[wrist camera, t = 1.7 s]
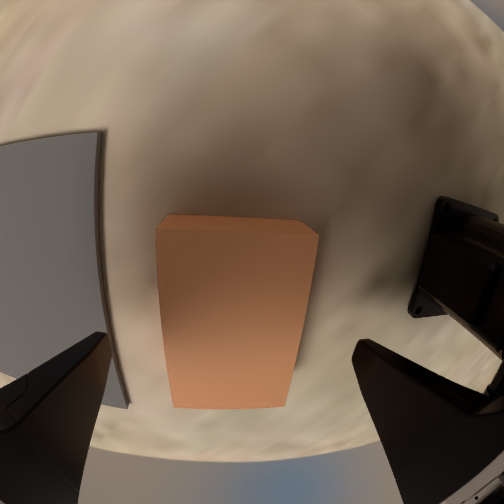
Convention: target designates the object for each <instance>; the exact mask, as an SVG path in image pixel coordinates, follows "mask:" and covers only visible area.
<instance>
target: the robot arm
mask: <svg viewBox="0 0 504 504" xmlns="http://www.w3.org/2000/svg"><path fill="white" fill-rule="evenodd" d="M444 205H445V208H444ZM408 313H409V314H410V315H411V316H412V317H413V318H422V317H431V316H439V315H446V314H449V315H450V316H451V317H452V318H453V319H455V320H456V321H457V322H458V323H460V324H461V325H462V326H463V327H464V328H466V329H467V330H468V331H469V332H470V333H472V334H473V335H474V336H475V337H476V338H477V339H478V340H480V341H481V342H482V343H483V344H484V345H485V346H486V347H488V348H489V349H490V350H491V351H492V352H493V353H494V354H495V355H497V356H498V357H499V358H500V359H501V360H502V363H501V365H500V367H499V369H498V371H497V372H496V374H495V376H494V378H493V380H492V382H491V384H489V385H488V386H487V388H486V390H485V391H484V393H483V394H482V393H479V392H477V391H474V390H472V389H469V388H467V387H464V386H462V385H460V384H457V383H455V382H453V381H451V380H449V379H446V378H444V377H442V376H440V375H438V374H436V373H434V372H432V371H430V370H428V369H426V368H424V367H422V366H421V365H419V364H417V363H415V362H413V361H411V360H409V359H407V358H405V357H403V356H401V355H399V354H397V353H395V352H393V351H391V350H389V349H388V348H386V347H384V346H382V345H380V344H378V343H376V342H374V341H372V340H370V339H360V340H359V341H358V342H357V344H356V347H355V350H354V352H353V355H352V364H353V367H354V370H355V374H356V377H357V380H358V384H359V387H360V390H361V393H362V396H363V398H364V401H365V403H366V405H367V408H368V410H369V413H370V415H371V418H372V420H373V423H374V425H375V427H376V430H377V432H378V435H379V438H380V440H381V442H382V445H383V448H384V450H385V453H386V456H387V458H388V461H389V464H390V466H391V469H392V472H393V474H394V477H395V479H396V483H397V486H398V489H399V491H400V495H401V497H402V500H403V503H404V504H441V503H442V502H444V501H445V502H446V503H447V504H504V224H501V223H499V218H498V215H496V214H494V213H491V212H489V211H486V210H483V209H481V208H478V207H475V206H472V205H470V204H467V203H464V202H461V201H458V200H455V199H452V198H449V197H445V196H441V197H439V198H438V200H437V202H436V205H435V211H434V216H433V221H432V226H431V230H430V235H429V239H428V243H427V247H426V251H425V255H424V259H423V262H422V266H421V270H420V273H419V276H418V280H417V283H416V286H415V289H414V292H413V295H412V298H411V301H410V304H409V307H408ZM111 359H112V350H111V345H110V341H109V336H108V334H107V333H106V332H99V331H96V332H94V333H93V334H91V335H89V336H88V337H86V338H84V339H83V340H81V341H79V342H78V343H76V344H74V345H73V346H71V347H69V348H68V349H66V350H64V351H63V352H61V353H59V354H58V355H56V356H54V357H53V358H51V359H49V360H48V361H46V362H44V363H43V364H41V365H40V366H38V367H36V368H35V369H33V370H31V371H30V372H28V374H25V375H23V376H21V377H20V378H18V379H16V380H15V381H13V382H11V383H10V384H8V385H6V386H4V387H2V388H0V504H77V503H78V497H79V491H80V485H81V480H82V475H83V470H84V466H85V461H86V457H87V453H88V449H89V445H90V441H91V437H92V433H93V430H94V426H95V423H96V419H97V416H98V412H99V409H100V406H101V402H102V399H103V396H104V392H105V388H106V382H107V377H108V373H109V368H110V363H111Z"/></svg>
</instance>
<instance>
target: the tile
mask: <svg viewBox="0 0 504 504" xmlns="http://www.w3.org/2000/svg"><path fill="white" fill-rule="evenodd" d="M318 241H319V235H318V234H317V233H315V232H314V231H313V230H312V229H310V228H309V227H308V226H306V225H305V224H304V223H302V222H301V221H298V220H283V219H266V218H248V217H227V216H203V215H169V214H168V215H167V216H166V218H165V219H164V220H163V221H162V222H161V223H160V224H159V226H158V227H157V228H156V250H157V273H158V289H159V302H160V314H161V324H162V333H163V342H164V350H165V358H166V365H167V371H168V378H169V384H170V390H171V396H172V401H173V407H175V408H193V409H252V408H269V407H282V406H285V402H286V398H287V395H288V391H289V387H290V383H291V379H292V375H293V370H294V366H295V362H296V358H297V353H298V349H299V344H300V340H301V335H302V330H303V325H304V321H305V316H306V311H307V305H308V300H309V295H310V289H311V284H312V278H313V272H314V266H315V260H316V254H317V248H318Z"/></svg>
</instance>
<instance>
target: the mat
mask: <svg viewBox="0 0 504 504" xmlns="http://www.w3.org/2000/svg"><path fill="white" fill-rule="evenodd" d="M101 135H102V133H100V132H91V133H80V134H70V135H62V136H54V137H47V138H40V139H34V140H28V141H23V142H17V143H12V144H8V145H3V146H0V372H2V373H4V374H7V375H9V376H12V377H14V378H16V379H18V378H20V377H21V376H23V375H25V374H28V372H30V371H31V370H33V369H35V368H36V367H38V366H40V365H41V364H43V363H44V362H46V361H48V360H49V359H51V358H53V357H54V356H56V355H58V354H59V353H61V352H63V351H64V350H66V349H68V348H69V347H71V346H73V345H74V344H76V343H78V342H79V341H81V340H83V339H84V338H86V337H88V336H89V335H91V334H93V333H94V332H96V331H99V332H106V333H107V334H108V336H109V341H110V345H111V350H112V359H111V363H110V368H109V373H108V377H107V382H106V388H105V392H104V396H103V399H102V402H101V404H103V405H107V406H112V407H118V408H123V409H128V405H129V404H128V400H127V397H126V394H125V390H124V387H123V383H122V380H121V376H120V372H119V368H118V364H117V360H116V355H115V351H114V346H113V342H112V337H111V332H110V326H109V321H108V315H107V308H106V302H105V295H104V287H103V278H102V269H101V258H100V244H99V221H98V182H99V160H100V146H101Z"/></svg>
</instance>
